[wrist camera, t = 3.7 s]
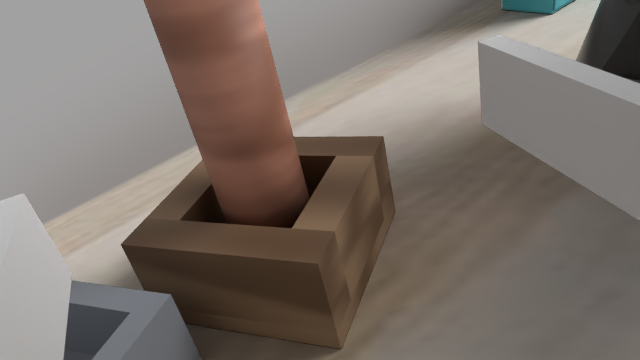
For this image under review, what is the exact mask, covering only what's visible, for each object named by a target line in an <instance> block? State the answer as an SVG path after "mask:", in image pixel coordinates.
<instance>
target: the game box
mask: <svg viewBox="0 0 640 360" xmlns="http://www.w3.org/2000/svg"><path fill="white" fill-rule="evenodd" d="M572 1H574V0H501V8H502V9H505V10H512V11H522V12H534V13H546V14H553V13H555V12H556V11H558V10H559V9H561V8H562V7H564V6H565V5H567V4H569V3H570V2H572Z"/></svg>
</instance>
